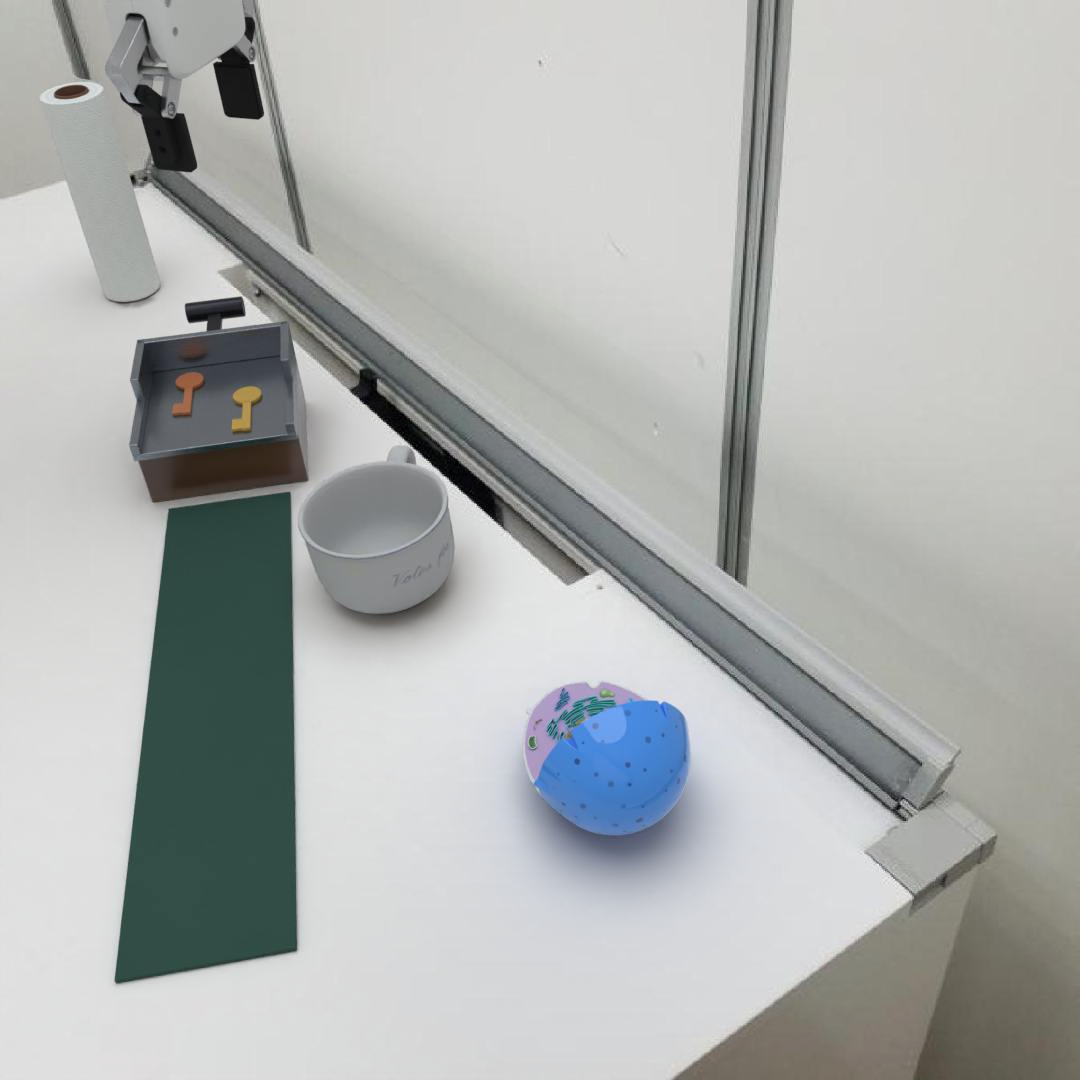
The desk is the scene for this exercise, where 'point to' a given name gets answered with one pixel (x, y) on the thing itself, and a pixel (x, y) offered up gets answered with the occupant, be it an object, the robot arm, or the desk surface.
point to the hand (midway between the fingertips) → (212, 142)
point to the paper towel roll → (101, 188)
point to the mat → (216, 748)
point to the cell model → (607, 756)
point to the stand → (231, 465)
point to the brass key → (245, 406)
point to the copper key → (187, 392)
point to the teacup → (380, 534)
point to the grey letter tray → (213, 384)
